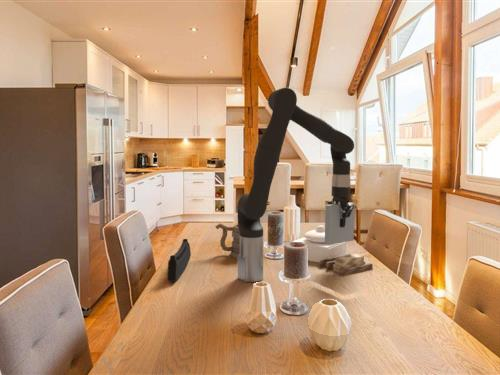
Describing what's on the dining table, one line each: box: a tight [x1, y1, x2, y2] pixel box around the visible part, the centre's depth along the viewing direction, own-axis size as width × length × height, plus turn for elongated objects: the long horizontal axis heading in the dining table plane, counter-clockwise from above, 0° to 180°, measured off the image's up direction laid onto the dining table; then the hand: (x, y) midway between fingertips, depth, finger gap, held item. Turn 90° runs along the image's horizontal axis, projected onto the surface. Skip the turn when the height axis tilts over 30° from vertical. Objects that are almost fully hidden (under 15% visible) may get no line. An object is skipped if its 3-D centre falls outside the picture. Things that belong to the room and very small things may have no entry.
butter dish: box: [292, 224, 347, 264], centre depth 191 cm, size 18×18×16 cm
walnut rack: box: [317, 253, 374, 277], centre depth 175 cm, size 18×14×4 cm
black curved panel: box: [166, 238, 191, 283], centre depth 173 cm, size 17×3×30 cm
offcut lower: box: [333, 260, 366, 273], centre depth 173 cm, size 14×4×2 cm, turn 121°
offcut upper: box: [335, 253, 365, 266], centre depth 173 cm, size 12×4×2 cm, turn 121°
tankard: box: [215, 223, 240, 259], centre depth 199 cm, size 20×13×15 cm, turn 84°
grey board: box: [324, 202, 356, 245], centre depth 176 cm, size 14×2×16 cm, turn 121°
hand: (339, 226), depth 176 cm, fingers closed on grey board, 2 cm apart
